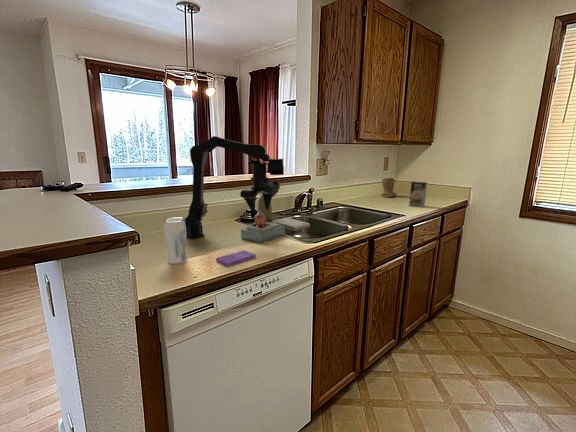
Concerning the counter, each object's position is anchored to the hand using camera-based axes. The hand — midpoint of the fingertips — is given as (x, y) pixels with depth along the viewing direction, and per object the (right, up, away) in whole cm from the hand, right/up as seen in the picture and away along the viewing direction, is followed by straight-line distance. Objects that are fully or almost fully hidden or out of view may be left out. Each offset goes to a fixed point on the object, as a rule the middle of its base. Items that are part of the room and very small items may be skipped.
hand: (260, 211), depth 136 cm
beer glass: (-27, -18, -26) cm, 41 cm away
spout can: (0, -8, +2) cm, 8 cm away
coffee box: (+98, +4, +74) cm, 123 cm away
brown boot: (+92, +13, +114) cm, 147 cm away
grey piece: (+2, -11, +5) cm, 12 cm away
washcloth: (+13, -8, +23) cm, 27 cm away
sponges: (-7, -18, -24) cm, 31 cm away
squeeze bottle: (-1, -5, +34) cm, 34 cm away
